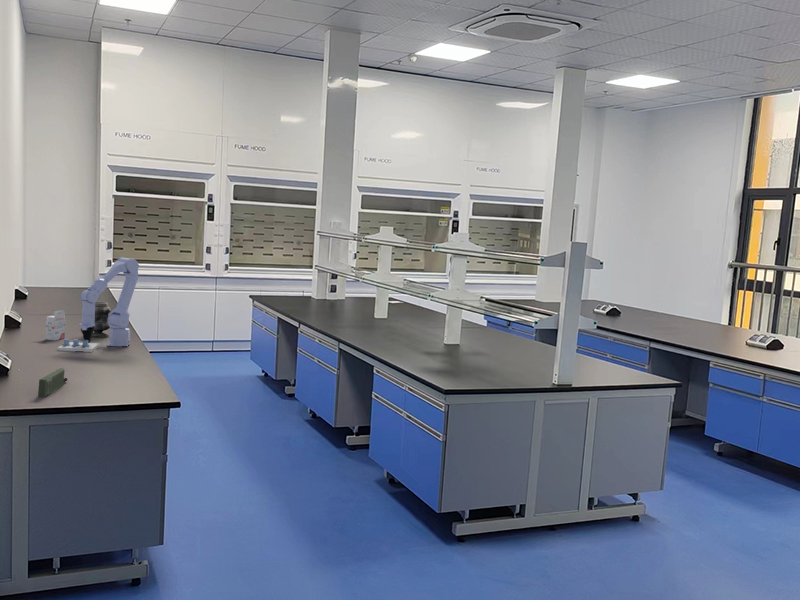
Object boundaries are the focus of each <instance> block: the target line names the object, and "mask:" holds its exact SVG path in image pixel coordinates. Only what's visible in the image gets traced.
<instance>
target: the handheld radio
mask: <svg viewBox="0 0 800 600" xmlns="http://www.w3.org/2000/svg"><path fill="white" fill-rule="evenodd" d="M65 371H66V370H65V368H63V367H60V368H57V369H56V370H55V371H52V372H51V373H49V374H47V375H46V376H43V377H41V378H40V379H38V380H39V381H38V390H37V391H38V392H37V397H38V398H47V397H48V396H49V395H51V394H52V393H54V392H55V390H56V391H57V390H59V389H60V388H62V387H63V386H64V384H65V382H67V381H68V378H67V377H65ZM61 386H62V387H61ZM58 388H59V389H58ZM53 391H54V392H53ZM50 393H51V394H50ZM47 395H48V396H47Z"/></svg>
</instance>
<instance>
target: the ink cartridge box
mask: <svg viewBox="0 0 800 600" xmlns="http://www.w3.org/2000/svg"><path fill="white" fill-rule="evenodd" d="M53 314H54V315H48V316H46V317H45V340H49V341H56V340H62V339H63V340H64V339H66V336H65V335H66V334H65V333H66V311H65V309H62V310H61V309H60V310H56V311H54V312H53Z"/></svg>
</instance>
